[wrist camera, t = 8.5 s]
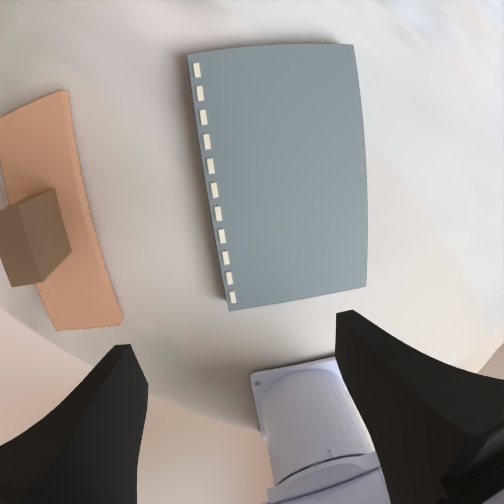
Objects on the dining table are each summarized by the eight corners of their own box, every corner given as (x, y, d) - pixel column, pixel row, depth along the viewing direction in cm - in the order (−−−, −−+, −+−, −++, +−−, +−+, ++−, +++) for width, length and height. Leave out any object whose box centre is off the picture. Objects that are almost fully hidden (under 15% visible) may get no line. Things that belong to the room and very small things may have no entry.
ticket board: (358, 278, 21) (366, 287, 20) (228, 301, 20) (229, 312, 19) (345, 49, 15) (353, 44, 14) (189, 59, 14) (187, 54, 13)
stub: (123, 316, 20) (103, 365, 15) (61, 323, 20) (34, 366, 15) (68, 91, 14) (23, 84, 9) (3, 120, 14) (-46, 125, 9)
